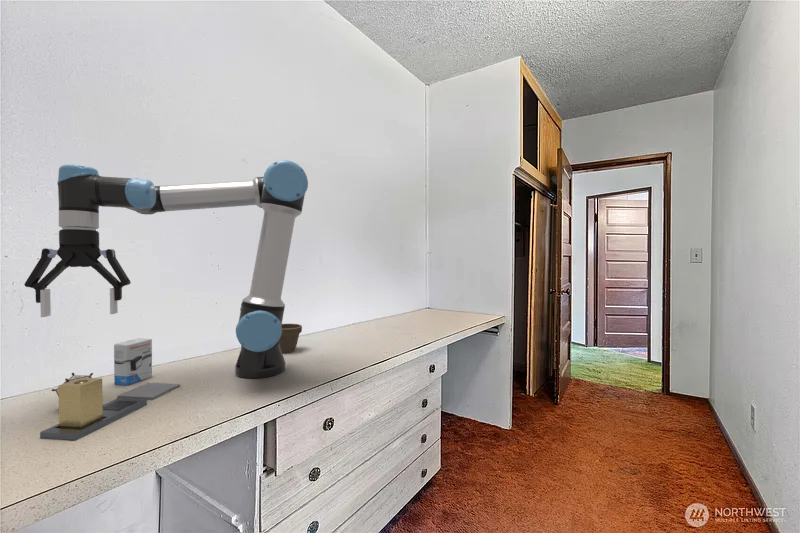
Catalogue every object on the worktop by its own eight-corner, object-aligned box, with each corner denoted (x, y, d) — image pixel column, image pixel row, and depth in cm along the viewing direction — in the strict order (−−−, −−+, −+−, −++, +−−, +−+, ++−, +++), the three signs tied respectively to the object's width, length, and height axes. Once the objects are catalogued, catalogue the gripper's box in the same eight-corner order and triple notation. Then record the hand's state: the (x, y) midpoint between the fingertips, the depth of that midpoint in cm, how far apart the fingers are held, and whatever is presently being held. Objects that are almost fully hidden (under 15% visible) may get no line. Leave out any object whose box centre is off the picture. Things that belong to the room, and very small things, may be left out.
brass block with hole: (102, 423, 81) (102, 378, 81) (80, 434, 76) (80, 386, 76) (82, 422, 82) (81, 377, 81) (59, 432, 77) (58, 385, 76)
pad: (179, 386, 104) (179, 384, 104) (152, 399, 94) (152, 397, 94) (147, 384, 105) (147, 382, 105) (117, 397, 96) (117, 395, 96)
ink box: (127, 385, 105) (127, 344, 104) (113, 384, 106) (112, 344, 105) (153, 376, 113) (152, 338, 113) (140, 375, 114) (139, 337, 114)
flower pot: (307, 348, 148) (307, 323, 148) (292, 356, 137) (292, 329, 137) (281, 347, 150) (281, 322, 150) (265, 354, 139) (265, 327, 139)
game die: (74, 425, 88) (48, 402, 82) (62, 405, 92) (36, 382, 86) (114, 398, 94) (93, 374, 88) (101, 380, 98) (80, 357, 92)
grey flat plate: (146, 404, 91) (146, 399, 91) (75, 440, 73) (75, 434, 73) (117, 403, 92) (117, 398, 92) (40, 438, 74) (40, 431, 74)
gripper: (143, 232, 99) (144, 310, 99) (22, 228, 90) (24, 315, 90) (134, 230, 92) (135, 314, 92) (3, 226, 83) (4, 320, 83)
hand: (80, 315), depth 91 cm, fingers open, 13 cm apart
